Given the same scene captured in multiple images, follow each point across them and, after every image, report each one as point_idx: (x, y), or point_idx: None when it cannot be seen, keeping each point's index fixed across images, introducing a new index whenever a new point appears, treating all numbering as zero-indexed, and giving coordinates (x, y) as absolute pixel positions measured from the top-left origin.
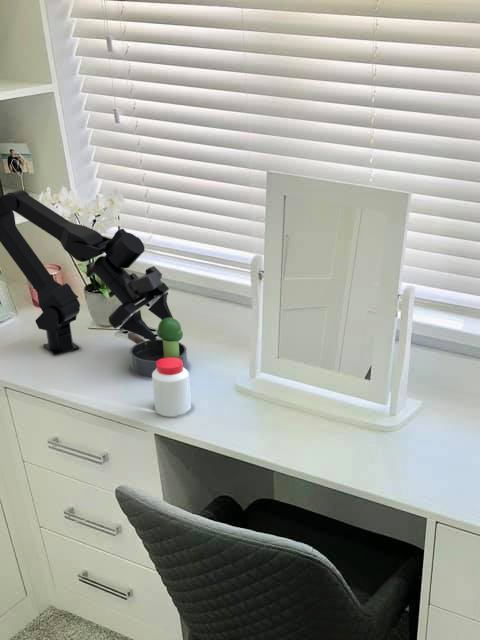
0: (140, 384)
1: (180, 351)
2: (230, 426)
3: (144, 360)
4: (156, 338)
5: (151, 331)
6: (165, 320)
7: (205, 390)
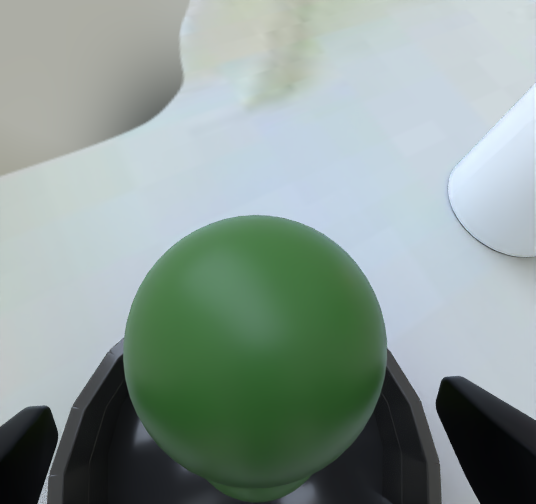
0: None
1: (117, 388)
2: (473, 44)
3: (432, 454)
4: (445, 377)
5: (517, 433)
6: (332, 336)
7: (339, 171)
